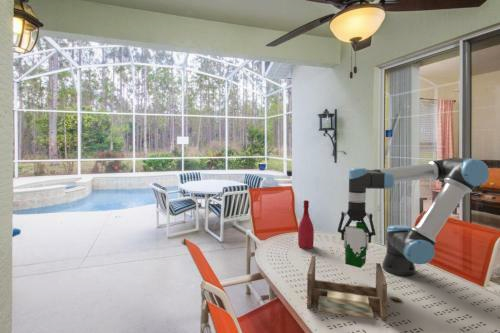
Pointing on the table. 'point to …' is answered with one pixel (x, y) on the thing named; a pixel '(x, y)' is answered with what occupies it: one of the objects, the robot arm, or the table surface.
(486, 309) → the table surface
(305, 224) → the wine bottle
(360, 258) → the soya milk
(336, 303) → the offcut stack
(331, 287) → the walnut rack
